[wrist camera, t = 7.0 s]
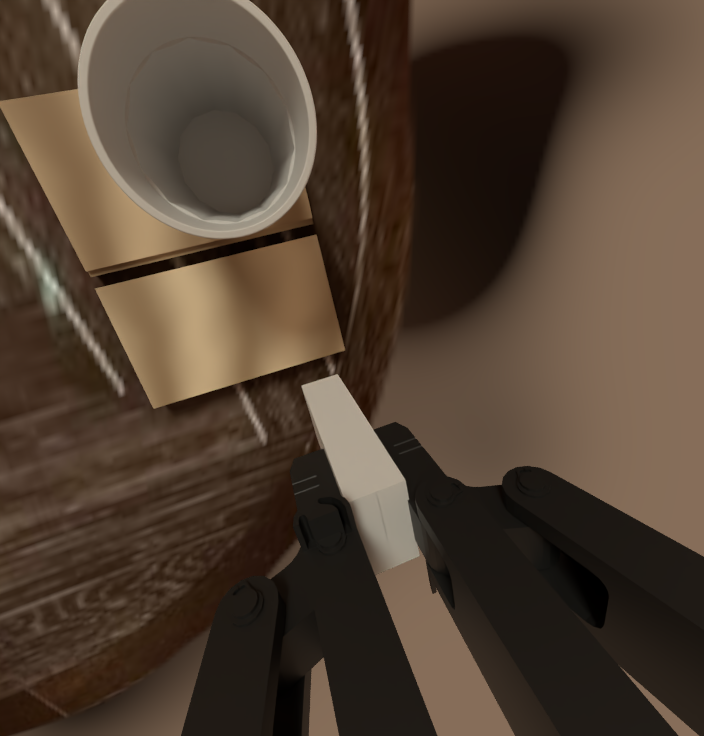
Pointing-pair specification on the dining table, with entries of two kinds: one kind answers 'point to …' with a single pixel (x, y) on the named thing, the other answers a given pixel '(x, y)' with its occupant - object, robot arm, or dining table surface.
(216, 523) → the dining table surface
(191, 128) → the cup
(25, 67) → the dining table surface
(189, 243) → the tan flat board
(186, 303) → the plank
